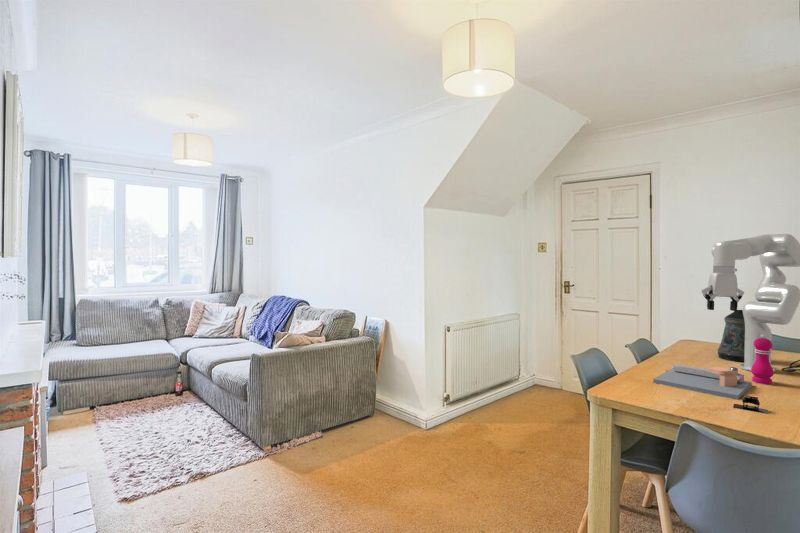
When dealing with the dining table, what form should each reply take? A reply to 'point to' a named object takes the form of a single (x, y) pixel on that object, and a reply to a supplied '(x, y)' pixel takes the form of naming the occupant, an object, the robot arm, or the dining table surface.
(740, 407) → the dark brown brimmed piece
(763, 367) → the pepper mill
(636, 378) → the dining table surface
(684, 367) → the steel link
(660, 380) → the slate board
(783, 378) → the dining table surface
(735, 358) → the beer stein
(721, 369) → the block
